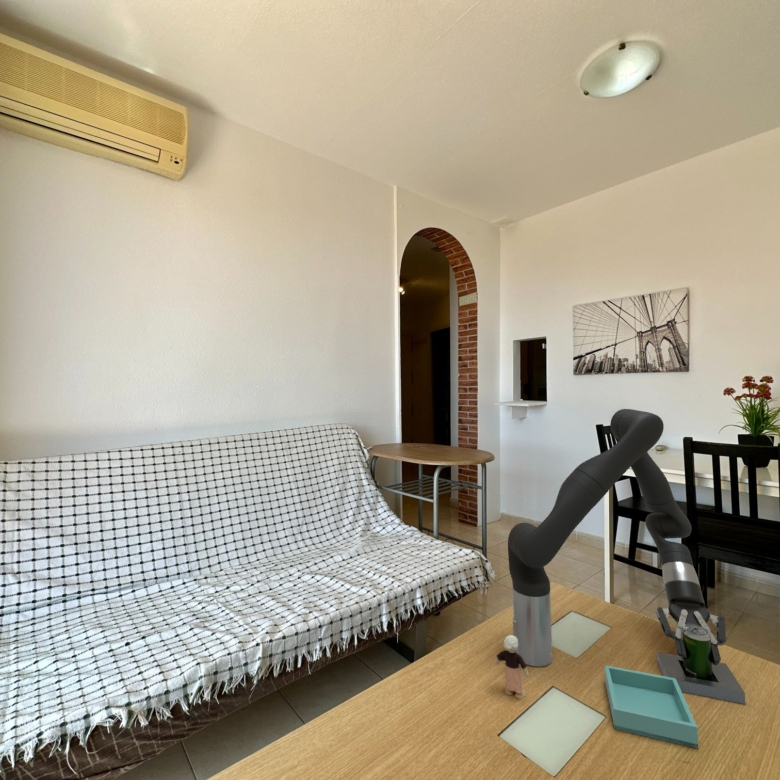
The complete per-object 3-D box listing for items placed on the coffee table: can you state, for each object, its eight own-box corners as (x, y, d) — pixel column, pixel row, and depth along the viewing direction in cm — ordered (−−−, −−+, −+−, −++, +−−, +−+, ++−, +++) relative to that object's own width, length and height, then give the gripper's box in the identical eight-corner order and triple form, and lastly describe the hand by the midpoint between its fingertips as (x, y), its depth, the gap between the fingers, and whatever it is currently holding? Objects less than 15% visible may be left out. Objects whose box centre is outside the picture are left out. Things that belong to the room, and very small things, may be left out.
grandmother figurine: (531, 691, 93) (529, 635, 93) (529, 702, 90) (527, 644, 90) (497, 682, 97) (495, 628, 97) (493, 693, 93) (492, 637, 93)
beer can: (707, 693, 91) (705, 639, 91) (679, 679, 96) (677, 628, 96) (716, 683, 94) (714, 631, 94) (689, 670, 99) (687, 620, 99)
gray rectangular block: (668, 689, 93) (668, 678, 93) (657, 661, 102) (656, 651, 102) (745, 704, 88) (744, 692, 88) (726, 674, 97) (725, 663, 97)
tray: (614, 729, 82) (613, 709, 82) (605, 682, 95) (604, 665, 96) (698, 748, 77) (697, 727, 77) (676, 696, 90) (675, 678, 91)
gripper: (651, 575, 105) (665, 650, 93) (720, 583, 99) (744, 663, 88) (647, 586, 109) (660, 659, 98) (712, 594, 104) (734, 672, 93)
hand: (699, 661), depth 93 cm, fingers closed on beer can, 5 cm apart
